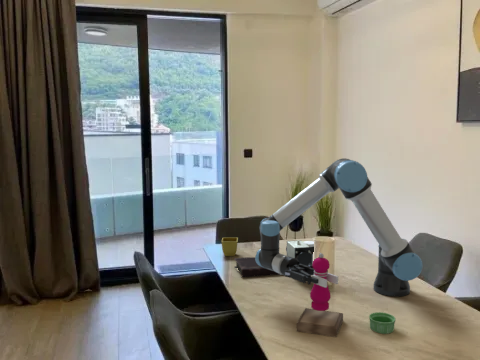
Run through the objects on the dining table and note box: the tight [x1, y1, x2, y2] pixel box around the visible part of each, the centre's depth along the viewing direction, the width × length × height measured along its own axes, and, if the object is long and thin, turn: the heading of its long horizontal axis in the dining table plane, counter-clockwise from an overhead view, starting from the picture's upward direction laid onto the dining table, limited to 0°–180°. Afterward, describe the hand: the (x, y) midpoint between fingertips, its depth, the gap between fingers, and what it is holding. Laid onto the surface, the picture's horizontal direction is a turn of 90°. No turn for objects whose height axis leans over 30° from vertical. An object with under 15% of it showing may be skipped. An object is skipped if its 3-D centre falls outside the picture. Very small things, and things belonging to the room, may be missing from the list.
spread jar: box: [303, 240, 315, 264], centre depth 240 cm, size 12×11×12 cm
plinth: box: [296, 307, 344, 338], centre depth 168 cm, size 14×14×3 cm
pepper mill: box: [309, 252, 332, 311], centre depth 166 cm, size 7×7×20 cm
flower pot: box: [221, 237, 239, 257], centre depth 258 cm, size 9×9×9 cm
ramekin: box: [368, 311, 396, 335], centre depth 165 cm, size 9×9×4 cm
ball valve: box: [285, 239, 312, 266], centre depth 220 cm, size 18×8×18 cm, turn 11°
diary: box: [233, 256, 280, 278], centre depth 232 cm, size 19×25×5 cm
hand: (331, 281), depth 162 cm, fingers closed on pepper mill, 5 cm apart
